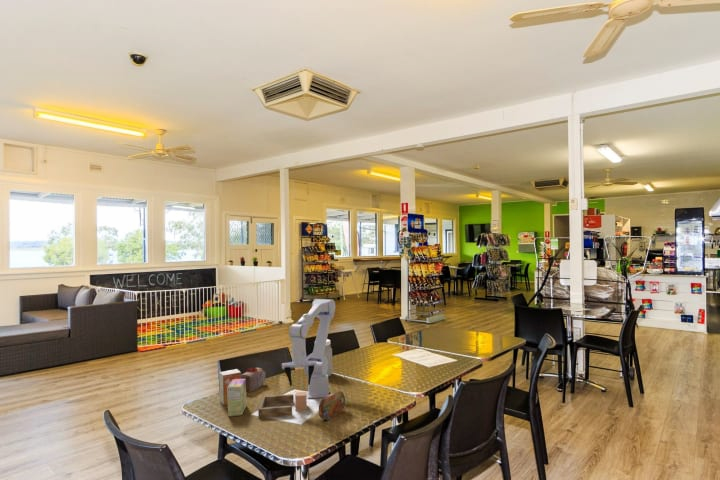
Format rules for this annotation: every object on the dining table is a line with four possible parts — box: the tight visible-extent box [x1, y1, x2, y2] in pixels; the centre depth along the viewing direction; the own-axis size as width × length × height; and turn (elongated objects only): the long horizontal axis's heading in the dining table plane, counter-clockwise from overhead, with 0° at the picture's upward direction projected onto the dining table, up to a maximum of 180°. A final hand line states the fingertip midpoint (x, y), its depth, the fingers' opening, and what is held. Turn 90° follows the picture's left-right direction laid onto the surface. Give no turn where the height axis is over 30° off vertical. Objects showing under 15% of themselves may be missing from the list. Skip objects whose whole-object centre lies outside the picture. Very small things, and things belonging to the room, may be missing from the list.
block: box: [294, 391, 308, 411], centre depth 173 cm, size 4×4×6 cm
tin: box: [318, 390, 346, 421], centre depth 165 cm, size 15×3×8 cm, turn 148°
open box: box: [257, 393, 295, 419], centre depth 172 cm, size 13×14×4 cm
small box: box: [218, 368, 242, 406], centre depth 184 cm, size 8×6×13 cm
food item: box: [241, 367, 267, 394], centre depth 200 cm, size 14×8×10 cm, turn 164°
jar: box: [314, 338, 334, 377], centre depth 217 cm, size 10×10×18 cm
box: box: [227, 379, 247, 417], centre depth 172 cm, size 10×6×12 cm, turn 5°
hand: (300, 384), depth 175 cm, fingers open, 7 cm apart
